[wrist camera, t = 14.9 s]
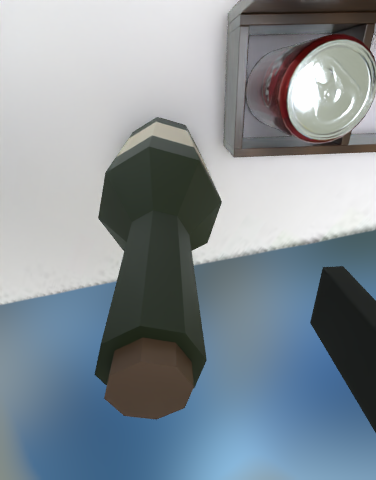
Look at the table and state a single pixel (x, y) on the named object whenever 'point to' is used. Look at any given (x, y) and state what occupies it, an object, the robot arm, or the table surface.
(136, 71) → the table surface
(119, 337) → the wine bottle
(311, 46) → the soda can
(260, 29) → the divided wooden storage box
